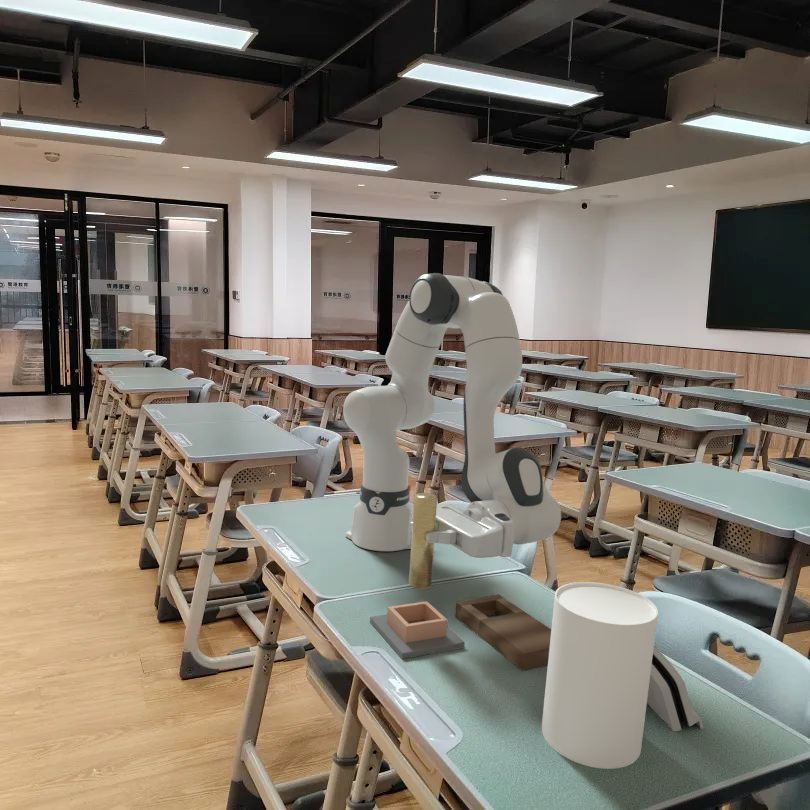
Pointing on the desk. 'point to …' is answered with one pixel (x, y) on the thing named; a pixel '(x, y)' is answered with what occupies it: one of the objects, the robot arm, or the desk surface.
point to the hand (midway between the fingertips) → (419, 532)
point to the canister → (598, 673)
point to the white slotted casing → (670, 694)
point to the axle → (422, 540)
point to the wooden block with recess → (507, 629)
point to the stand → (416, 630)
